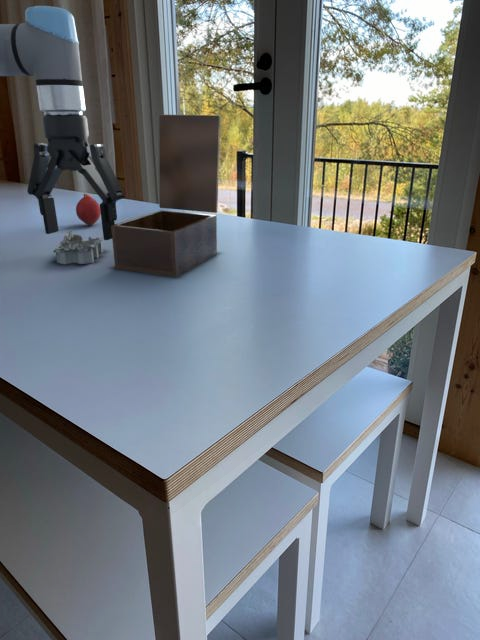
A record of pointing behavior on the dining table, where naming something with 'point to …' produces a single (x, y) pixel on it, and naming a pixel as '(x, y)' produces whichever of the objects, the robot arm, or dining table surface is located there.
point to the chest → (164, 242)
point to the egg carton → (78, 249)
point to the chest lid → (189, 162)
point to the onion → (88, 210)
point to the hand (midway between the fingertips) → (80, 235)
